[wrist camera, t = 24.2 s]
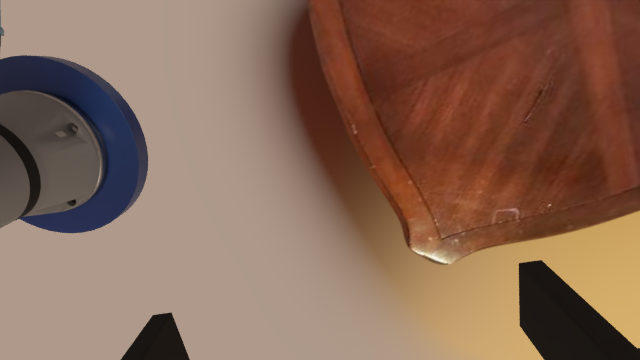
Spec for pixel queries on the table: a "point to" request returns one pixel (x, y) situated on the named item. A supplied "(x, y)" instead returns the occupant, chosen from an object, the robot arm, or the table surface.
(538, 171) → the table surface
